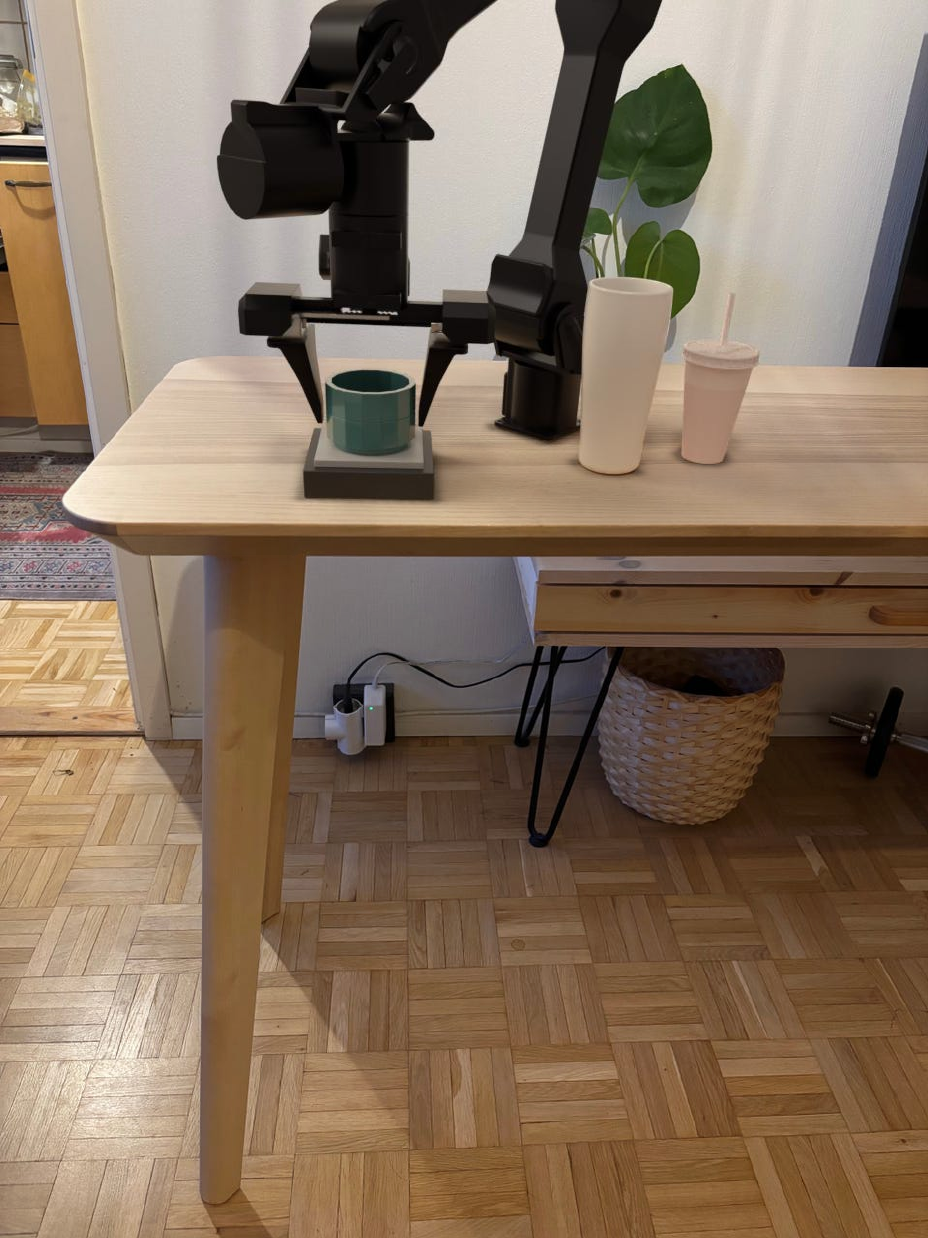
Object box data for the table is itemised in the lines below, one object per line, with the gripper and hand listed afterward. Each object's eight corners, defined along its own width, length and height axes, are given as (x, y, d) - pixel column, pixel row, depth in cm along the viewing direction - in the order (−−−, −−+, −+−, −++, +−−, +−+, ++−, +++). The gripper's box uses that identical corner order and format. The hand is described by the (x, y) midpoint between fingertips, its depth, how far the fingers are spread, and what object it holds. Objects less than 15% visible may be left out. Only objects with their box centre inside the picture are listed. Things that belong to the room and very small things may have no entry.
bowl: (432, 442, 75) (433, 381, 72) (372, 464, 70) (371, 399, 68) (369, 422, 79) (369, 363, 76) (309, 441, 74) (306, 379, 71)
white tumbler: (644, 454, 83) (670, 279, 75) (650, 482, 77) (679, 295, 69) (569, 449, 83) (586, 274, 76) (569, 476, 77) (588, 290, 70)
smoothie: (741, 450, 85) (773, 291, 78) (735, 474, 79) (769, 306, 72) (671, 440, 86) (696, 283, 79) (661, 462, 81) (687, 297, 74)
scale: (430, 454, 80) (431, 423, 79) (433, 499, 72) (434, 465, 70) (315, 452, 80) (313, 420, 78) (304, 497, 71) (302, 463, 70)
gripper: (493, 203, 73) (483, 397, 81) (256, 193, 72) (269, 389, 80) (501, 223, 63) (489, 440, 71) (228, 211, 63) (246, 432, 71)
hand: (370, 423), depth 74 cm, fingers open, 8 cm apart
